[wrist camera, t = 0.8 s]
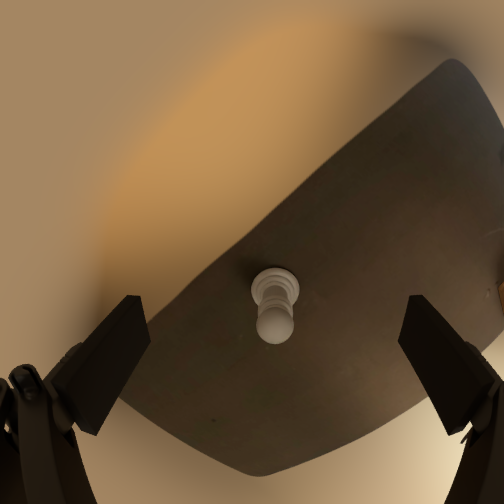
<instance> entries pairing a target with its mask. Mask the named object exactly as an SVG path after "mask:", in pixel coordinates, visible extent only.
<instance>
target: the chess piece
mask: <svg viewBox="0 0 504 504" xmlns="http://www.w3.org/2000/svg"><path fill="white" fill-rule="evenodd" d="M251 293H252V296H253V299H254V301H255V302H256V303H257V305H258V306H259V307H258V320H257V323H256V328H257V331H258V334H259V335H260V337H261V338H262V339H263V340H264V341H266V342H268V343H271V344H278V343H282V342H284V341H285V340H287V339H288V338H289V337H290V335H291V334H292V332H293V328H294V323H293V319H292V317H293V310H292V305H293V304H294V303H295V301H296V300H297V298H298V295H299V284H298V281H297V279H296V278H295V276H294V275H293V274H292V273H290V272H289V271H287V270H285V269H281V268H270V269H266V270H264V271H262V272H261V273H260V274H258V275H257V276H256V278H255V279H254V281H253V283H252V287H251Z"/></svg>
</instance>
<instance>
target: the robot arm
mask: <svg viewBox="0 0 504 504" xmlns="http://www.w3.org/2000/svg"><path fill="white" fill-rule="evenodd" d="M150 342H151V340H150V336H149V332H148V328H147V324H146V320H145V315H144V311H143V306H142V302H141V297H140V296H132V295H127V296H126V297H125V298H124V299H123V300H122V301H121V302H120V303H119V304H118V305H117V306H116V307H115V308H114V309H113V310H112V312H111V313H110V314H109V315H108V316H107V317H106V318H105V319H104V320H103V321H102V322H101V323H100V325H99V326H98V327H97V328H96V329H95V330H94V331H93V332H92V333H91V334H90V335H89V337H88V338H87V339H86V340H85V341H84V342H83V343H81V342H80V343H78V344H77V345H75V346H73V347H72V348H71V349H70V350H69V351H68V352H67V353H66V354H65V357H63V358H62V359H61V360H60V362H58V363H57V364H56V366H55V367H54V368H53V369H52V370H51V371H50V372H49V374H48V375H47V376H46V377H45V378H44V379H43V381H42V379H41V378H40V376H39V374H38V372H37V371H36V368H35V367H34V366H33V365H30V364H22V365H20V366H17V367H16V368H14V369H13V370H12V371H11V373H10V374H9V377H8V379H9V380H10V382H11V384H12V386H13V387H14V389H12V388H10V386H9V385H8V383H7V381H6V380H4V379H3V378H0V504H97V502H96V499H95V497H94V494H93V492H92V489H91V486H90V484H89V481H88V478H87V475H86V472H85V469H84V465H83V462H82V459H81V455H80V452H79V448H78V444H77V440H76V436H75V432H74V430H73V428H72V425H73V424H74V422H76V424H77V425H78V427H79V428H80V430H81V431H84V432H86V433H89V434H92V435H94V436H97V434H98V432H99V430H100V428H101V426H102V425H103V423H104V421H105V419H106V417H107V416H108V414H109V412H110V410H111V408H112V407H113V405H114V403H115V401H116V399H117V398H118V396H119V394H120V393H121V391H122V389H123V387H124V386H125V384H126V382H127V381H128V379H129V377H130V375H131V374H132V372H133V370H134V369H135V367H136V365H137V364H138V362H139V360H140V359H141V357H142V355H143V354H144V352H145V350H146V349H147V347H148V345H149V344H150ZM398 343H399V344H400V346H401V348H402V349H403V351H404V353H405V354H406V356H407V358H408V360H409V361H410V363H411V365H412V367H413V368H414V370H415V372H416V374H417V376H418V377H419V379H420V381H421V383H422V385H423V386H424V388H425V390H426V392H427V394H428V396H429V398H430V400H431V402H432V403H433V405H434V407H435V409H436V411H437V413H438V415H439V417H440V419H441V421H442V423H443V426H444V428H445V430H446V432H447V434H448V435H449V436H450V435H453V434H455V433H458V432H460V431H463V429H464V428H465V427H466V425H467V424H468V423H469V421H470V422H471V423H472V425H473V426H472V428H471V429H470V430H469V432H468V433H467V434H466V435H465V437H464V438H463V439H462V441H461V444H462V443H463V442H464V441H465V440H466V439H467V441H466V444H465V448H464V452H463V455H462V458H461V461H460V465H459V467H458V470H457V473H456V476H455V478H454V481H453V484H452V486H451V489H450V491H449V494H448V496H447V498H446V500H445V503H444V504H504V381H503V380H502V379H501V378H500V376H499V375H498V374H497V373H496V371H495V370H494V369H493V368H492V366H491V365H490V364H489V363H488V361H487V362H486V359H485V358H484V357H483V356H482V355H481V353H480V352H479V350H478V349H477V348H476V347H475V346H473V345H472V344H470V343H469V342H467V341H466V342H464V340H463V339H462V338H461V337H460V336H459V335H458V333H457V332H456V331H455V330H454V329H453V328H452V327H451V325H450V324H449V323H448V322H447V321H446V320H445V319H444V318H443V317H442V315H441V314H440V313H439V312H438V311H437V310H436V309H435V308H434V307H433V306H432V305H431V304H430V303H429V302H428V300H427V299H426V298H425V297H424V296H423V295H412V296H409V301H408V305H407V309H406V313H405V317H404V321H403V325H402V328H401V332H400V336H399V339H398ZM5 423H6V424H7V426H8V427H9V431H8V432H6V430H5V429H4V427H5Z"/></svg>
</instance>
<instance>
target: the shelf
mask: <svg viewBox="0 0 504 504" xmlns="http://www.w3.org/2000/svg"><path fill="white" fill-rule="evenodd" d="M498 291H499V295H500V299H501V303H502V308H503V313H504V282H503V283H502V284H501V285H500V286H499V287H498Z"/></svg>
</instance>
